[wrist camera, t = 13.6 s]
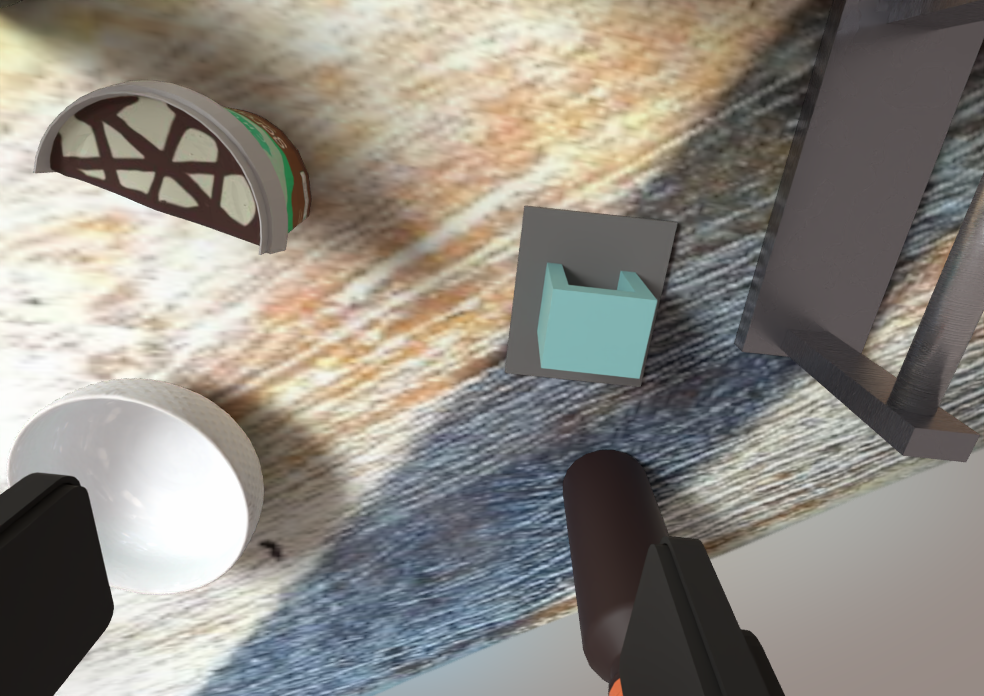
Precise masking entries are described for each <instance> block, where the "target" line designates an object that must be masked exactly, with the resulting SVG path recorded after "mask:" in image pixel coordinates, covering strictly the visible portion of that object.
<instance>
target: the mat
mask: <svg viewBox="0 0 984 696" xmlns="http://www.w3.org/2000/svg"><path fill="white" fill-rule="evenodd" d="M676 228H677V222H674V221H664V220H655V219H646V218H636V217H627V216H617V215H608V214H599V213H589V212H580V211H571V210H561V209H552V208H543V207H533V206H524V215H523V223H522V232H521V240H520V248H519V257H518V265H517V273H516V282H515V290H514V299H513V307H512V315H511V324H510V332H509V340H508V349H507V357H506V366H505V373H511V374H521V375H530V376H540V377H549V378H559V379H568V380H578V381H587V382H597V383H606V384H616V385H625V386H635V387H641V382H642V378H643V373H644V369H645V365H646V360H647V356H648V351H649V347H650V342H651V338H652V334H653V329H654V325H655V320H656V316H657V312H658V307H659V303H660V298H661V294H662V289H663V285H664V281H665V276H666V272H667V267H668V263H669V259H670V254H671V250H672V245H673V241H674V236H675V232H676ZM547 263H555V264H562V266H563V269H564V272H565V276H566V279H567V282H568V285H574V286H583V287H592V288H601V289H610V290H617V287H618V282H619V277H620V272H621V271H628V272H636V274H637V275H638V276H639V278H640V279H641V280H642V281H643V283H644V284H645V285H646V287H647V288H648V289H649V290H650V292H651V293H652V294H653V296H654V297H655V298H656V299H657V304H656V308H655V313H654V317H653V321H652V326H651V330H650V334H649V339H648V343H647V348H646V352H645V356H644V361H643V365H642V369H641V374H640V378H639V379H638V378H628V377H619V376H610V375H601V374H592V373H583V372H574V371H564V370H555V369H546V368H541V363H540V353H539V344H538V335H537V329H538V322H539V315H540V308H541V301H542V294H543V287H544V280H545V274H546V267H547Z"/></svg>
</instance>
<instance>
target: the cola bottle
mask: <svg viewBox="0 0 984 696" xmlns="http://www.w3.org/2000/svg"><path fill="white" fill-rule="evenodd" d="M20 1H22V0H0V8H1V7H6V6H10V5H13V4H16V3H18V2H20Z"/></svg>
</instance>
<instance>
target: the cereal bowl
mask: <svg viewBox="0 0 984 696" xmlns="http://www.w3.org/2000/svg"><path fill="white" fill-rule="evenodd" d="M36 472H39V473H49V474H59V475H69V476H73V477H76V478H77V479H78V480H79V482H80V485H81V486H83V487H85V488H86V489H87V491H88V494H89V498H90V503H91V507H92V511H93V516H94V520H95V525H96V529H97V533H98V538H99V542H100V547H101V551H102V555H103V560H104V564H105V568H106V573H107V577H108V582H109V586H111V587H114V588H117V589H121V590H126V591H130V592H135V593H142V594H155V595H163V594H174V593H181V592H187V591H190V590H194V589H197V588H200V587H203V586H205V585H207V584H209V583H211V582H213V581H215V580H217V579H218V578H220V577H221V576H222V575H224V574H225V573H226V572H227V571H228V570H229V569H230V568H231V567H232V566H233V565H234V564H235V563H236V561H237V560H238V559H239V558H240V557H241V555H242V553H243V551H244V550H245V549H246V547H247V544H248V543H249V541H250V540H251V537H252V535H253V533H254V532H255V529H256V526H257V524H258V522H259V517H260V514H261V512H262V505H263V502H264V501H263V497H264V483H263V475H262V471H261V465H260V462H259V458H258V456H257V455H256V451H255V449H254V447H253V446H252V443H251V442H250V439H249V438H248V437H247V436H246V434H245V432H244V431H243V430H242V428H241V427H240V426H239V425H238V423H237V422H235V421H234V419H233V418H231V416H230V415H229V414H228V413H226V412H225V411H224V410H223V409H221V408H220V407H219V406H218V405H216V404H215V403H214V402H212V401H210V400H209V399H208V398H205V397H204V396H202V395H200V394H198V393H196V392H193V391H191V390H189V389H186V388H184V387H180V386H177V385H175V384H171V383H167V382H163V381H156V380H151V379H141V378H140V379H137V378H134V379H127V378H125V379H113V380H109V381H102V382H99V383H96V384H91V385H88V386H86V387H84V388H80V389H77V390H75V391H73V392H72V393H68V394H66V395H65V396H63V397H62V398H59V399H57V400H55V401H54V402H52V403H51V404H49V405H47V406H45V407H44V408H43V409H41V410H39V411H38V412H37V413H36V414H35V415H33V416H32V417H31V418H30V419H29V420H28V421H27V422H26V423H25V424H24V425H23V427H22V428H21V429H20V431H19V432H18V434H17V436H16V438H15V440H14V442H13V444H12V447H11V449H10V452H9V457H8V461H7V481H8V488H10V487H11V486H13V485H14V484H16V483H17V482H18V481H20V480H21V479H22V478H24V477H25V476H27V475H29V474H31V473H36Z"/></svg>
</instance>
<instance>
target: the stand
mask: <svg viewBox="0 0 984 696" xmlns="http://www.w3.org/2000/svg"><path fill="white" fill-rule="evenodd" d="M983 39H984V0H833V4H832V7H831V11H830V14H829V17H828V21H827V24H826V28H825V31H824V35H823V38H822V42H821V45H820V49H819V52H818V55H817V59H816V62H815V66H814V69H813V73H812V76H811V80H810V83H809V87H808V90H807V93H806V97H805V100H804V104H803V107H802V111H801V114H800V118H799V121H798V125H797V128H796V131H795V135H794V138H793V142H792V145H791V149H790V152H789V156H788V159H787V162H786V166H785V169H784V173H783V176H782V180H781V183H780V187H779V190H778V194H777V197H776V200H775V204H774V207H773V211H772V214H771V218H770V221H769V225H768V228H767V232H766V235H765V238H764V242H763V245H762V249H761V252H760V256H759V259H758V263H757V266H756V270H755V273H754V276H753V280H752V283H751V287H750V290H749V294H748V297H747V301H746V304H745V308H744V311H743V314H742V318H741V321H740V325H739V328H738V332H737V335H736V339H735V342H734V344H735V345H736V346H737V347H738V348H739V349H740V350H741V351H742V352H750V353H760V354H769V355H779V356H788V357H790V358H791V359H793V360H794V361H795V362H796V363H797V364H798V365H799V366H801V367H802V368H803V369H804V370H805V371H806V372H808V373H809V374H810V375H811V376H812V377H813V378H814V379H816V380H817V381H818V382H819V383H820V384H821V385H822V386H824V387H825V388H826V389H827V390H828V391H829V392H830V393H832V394H833V395H834V396H835V397H836V398H837V399H838V400H840V401H841V402H842V403H843V404H844V405H845V406H847V407H848V408H849V409H850V410H851V411H852V412H853V413H855V414H856V415H857V416H858V417H859V418H860V419H861V420H863V421H864V422H865V423H866V424H867V425H868V426H869V427H871V428H872V429H873V430H874V431H875V432H876V433H878V434H879V435H880V436H881V437H882V438H883V439H884V440H886V441H887V442H888V443H889V444H890V445H891V446H892V447H894V448H895V449H896V450H897V451H898V452H899V453H900V454H902V455H903V456H912V457H922V458H931V459H941V460H950V461H960V462H966V461H967V459H968V457H969V456H970V454H971V452H972V450H973V448H974V446H975V444H976V442H977V440H978V438H979V436H980V434H978V433H977V432H975V431H974V430H972V429H971V428H969V427H968V426H966V425H965V424H964V423H962V422H961V421H959V420H958V419H956V418H955V417H953V416H952V415H950V414H949V413H947V412H946V411H944V410H943V409H942V408H940V407H939V405H940V403H941V401H942V399H943V397H944V395H945V393H946V390H947V388H948V386H949V384H950V382H951V380H952V378H953V375H954V373H955V371H956V369H957V367H958V365H959V363H960V360H961V358H962V356H963V354H964V352H965V350H966V347H967V345H968V343H969V341H970V339H971V337H972V335H973V332H974V330H975V328H976V326H977V324H978V322H979V320H980V317H981V315H982V313H983V311H984V173H983V176H982V178H981V180H980V183H979V185H978V188H977V190H976V192H975V195H974V197H973V199H972V202H971V204H970V206H969V209H968V211H967V214H966V216H965V218H964V221H963V223H962V225H961V228H960V230H959V232H958V235H957V237H956V240H955V242H954V244H953V247H952V249H951V251H950V254H949V256H948V258H947V261H946V263H945V266H944V268H943V270H942V273H941V275H940V277H939V280H938V282H937V284H936V287H935V289H934V292H933V294H932V296H931V299H930V301H929V303H928V306H927V308H926V310H925V313H924V315H923V318H922V320H921V322H920V325H919V327H918V329H917V332H916V334H915V336H914V339H913V341H912V344H911V346H910V348H909V351H908V353H907V355H906V358H905V360H904V362H903V365H902V367H901V370H900V372H899V374H898V377H897V378H896V377H895V376H893V375H892V374H890V373H889V372H887V371H886V370H884V369H883V368H881V367H880V366H879V365H877V364H876V363H874V362H873V361H871V360H870V359H868V358H867V357H865V356H864V355H862V354H861V353H862V351H863V348H864V345H865V343H866V340H867V338H868V335H869V332H870V330H871V327H872V325H873V322H874V320H875V317H876V314H877V312H878V309H879V307H880V304H881V302H882V299H883V296H884V294H885V291H886V289H887V286H888V284H889V281H890V278H891V276H892V273H893V271H894V268H895V266H896V263H897V260H898V258H899V255H900V253H901V250H902V248H903V245H904V242H905V240H906V237H907V235H908V232H909V229H910V227H911V224H912V222H913V219H914V217H915V214H916V211H917V209H918V206H919V204H920V201H921V199H922V196H923V193H924V191H925V188H926V186H927V183H928V181H929V178H930V175H931V173H932V170H933V168H934V165H935V163H936V160H937V157H938V155H939V152H940V150H941V147H942V144H943V142H944V139H945V137H946V134H947V132H948V129H949V126H950V124H951V121H952V119H953V116H954V114H955V111H956V108H957V106H958V103H959V101H960V98H961V96H962V93H963V90H964V88H965V85H966V83H967V80H968V78H969V75H970V72H971V70H972V67H973V65H974V62H975V60H976V57H977V54H978V52H979V49H980V47H981V44H982V41H983Z"/></svg>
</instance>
